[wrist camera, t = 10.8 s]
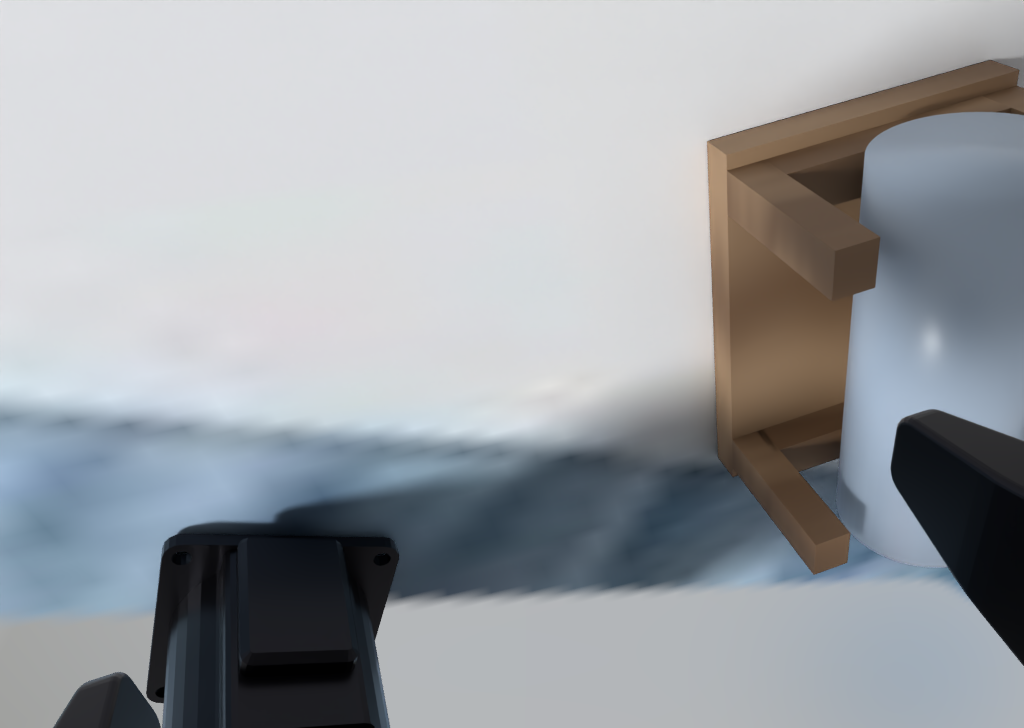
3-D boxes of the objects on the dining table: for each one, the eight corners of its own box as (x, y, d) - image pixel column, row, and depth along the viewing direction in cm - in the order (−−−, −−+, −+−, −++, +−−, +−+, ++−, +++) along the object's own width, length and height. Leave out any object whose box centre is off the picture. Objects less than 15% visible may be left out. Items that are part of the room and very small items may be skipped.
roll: (922, 436, 27) (1041, 528, 23) (804, 488, 26) (910, 592, 22) (976, 97, 20) (1154, 154, 17) (821, 151, 19) (974, 223, 16)
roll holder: (936, 383, 28) (1068, 490, 24) (717, 457, 27) (813, 584, 23) (990, 60, 22) (1183, 125, 17) (707, 141, 21) (836, 232, 16)
